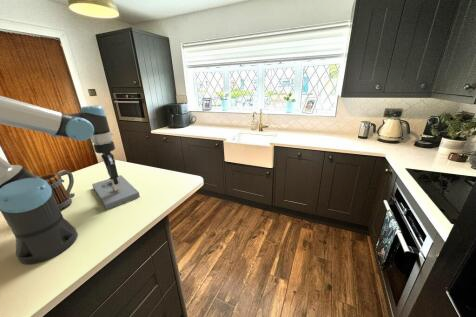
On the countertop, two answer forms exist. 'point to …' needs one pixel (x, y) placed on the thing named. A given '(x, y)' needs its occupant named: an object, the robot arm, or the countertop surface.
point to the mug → (60, 188)
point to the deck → (115, 192)
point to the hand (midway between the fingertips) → (117, 189)
